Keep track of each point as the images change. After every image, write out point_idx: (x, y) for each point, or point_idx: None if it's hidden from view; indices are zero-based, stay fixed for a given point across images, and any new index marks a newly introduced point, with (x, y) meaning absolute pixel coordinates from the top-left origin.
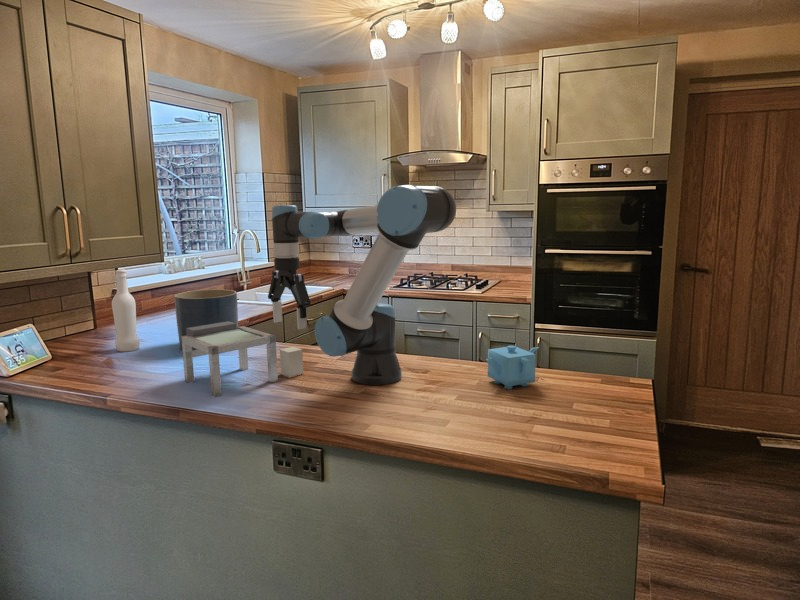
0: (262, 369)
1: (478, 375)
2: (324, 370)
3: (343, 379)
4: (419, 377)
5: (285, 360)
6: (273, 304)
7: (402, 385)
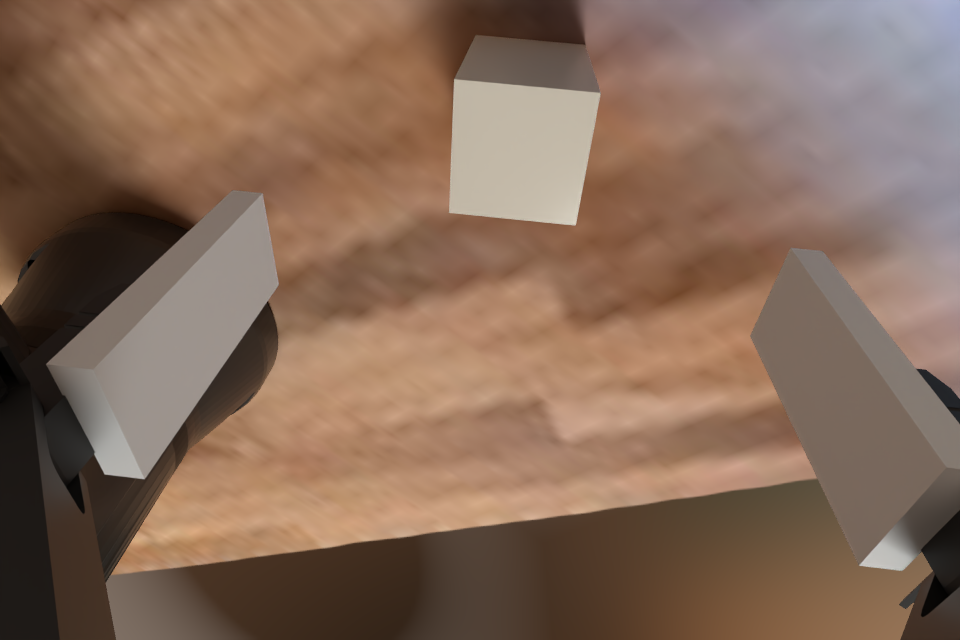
0: (795, 26)
1: None
2: (435, 257)
3: None
4: None
5: (514, 64)
6: (939, 434)
7: None
